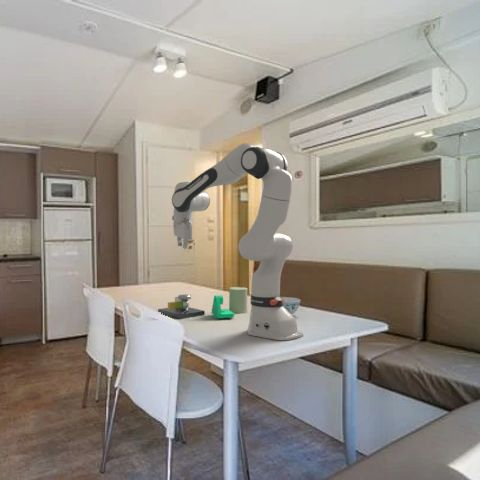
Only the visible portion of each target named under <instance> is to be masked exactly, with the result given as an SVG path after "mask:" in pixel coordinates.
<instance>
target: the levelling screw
mask: <svg viewBox="0 0 480 480" xmlns="http://www.w3.org/2000/svg"><path fill="white" fill-rule="evenodd" d="M178 296H179V299H181V301H176V302H175V301H170V302H167V308H168V309H169V310H171V309H178V308H181V311H188V310H189V307H190V300H191V299H192V295H191V294H186V293H185V294H179V295H178Z"/></svg>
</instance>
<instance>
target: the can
mask: <svg viewBox="0 0 480 480" xmlns="http://www.w3.org/2000/svg"><path fill="white" fill-rule="evenodd" d="M228 290H229V291H228V293H229V296H228V297H229V298H228V299H229V301H228V302H229V303H228V306H229V307H228V310H230V311H231V312H233V313H234V314H245V313H248V288H247V287H243V286H236V287H235V286H233V287H229V288H228Z"/></svg>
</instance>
